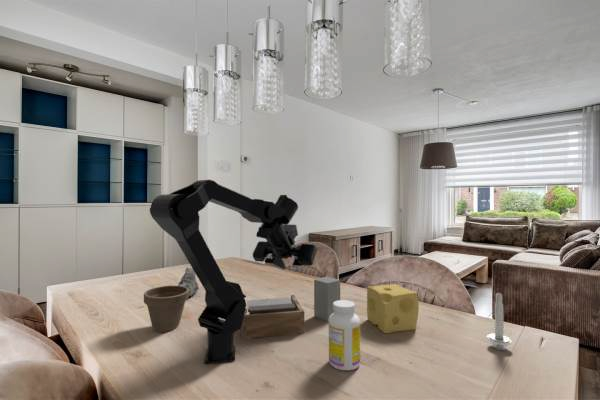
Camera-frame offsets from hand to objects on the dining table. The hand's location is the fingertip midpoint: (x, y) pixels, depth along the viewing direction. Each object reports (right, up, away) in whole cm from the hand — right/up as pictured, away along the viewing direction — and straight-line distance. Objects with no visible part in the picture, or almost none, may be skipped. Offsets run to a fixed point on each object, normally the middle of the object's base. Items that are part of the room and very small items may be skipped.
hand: (292, 269), depth 96 cm
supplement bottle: (+12, -14, -30) cm, 35 cm away
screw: (+49, -14, -23) cm, 56 cm away
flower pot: (-34, -14, -11) cm, 38 cm away
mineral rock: (-40, -14, +18) cm, 45 cm away
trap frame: (-6, -13, -9) cm, 17 cm away
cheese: (+28, -14, -9) cm, 32 cm away
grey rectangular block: (+11, -13, -4) cm, 17 cm away
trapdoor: (-6, -10, -9) cm, 15 cm away
